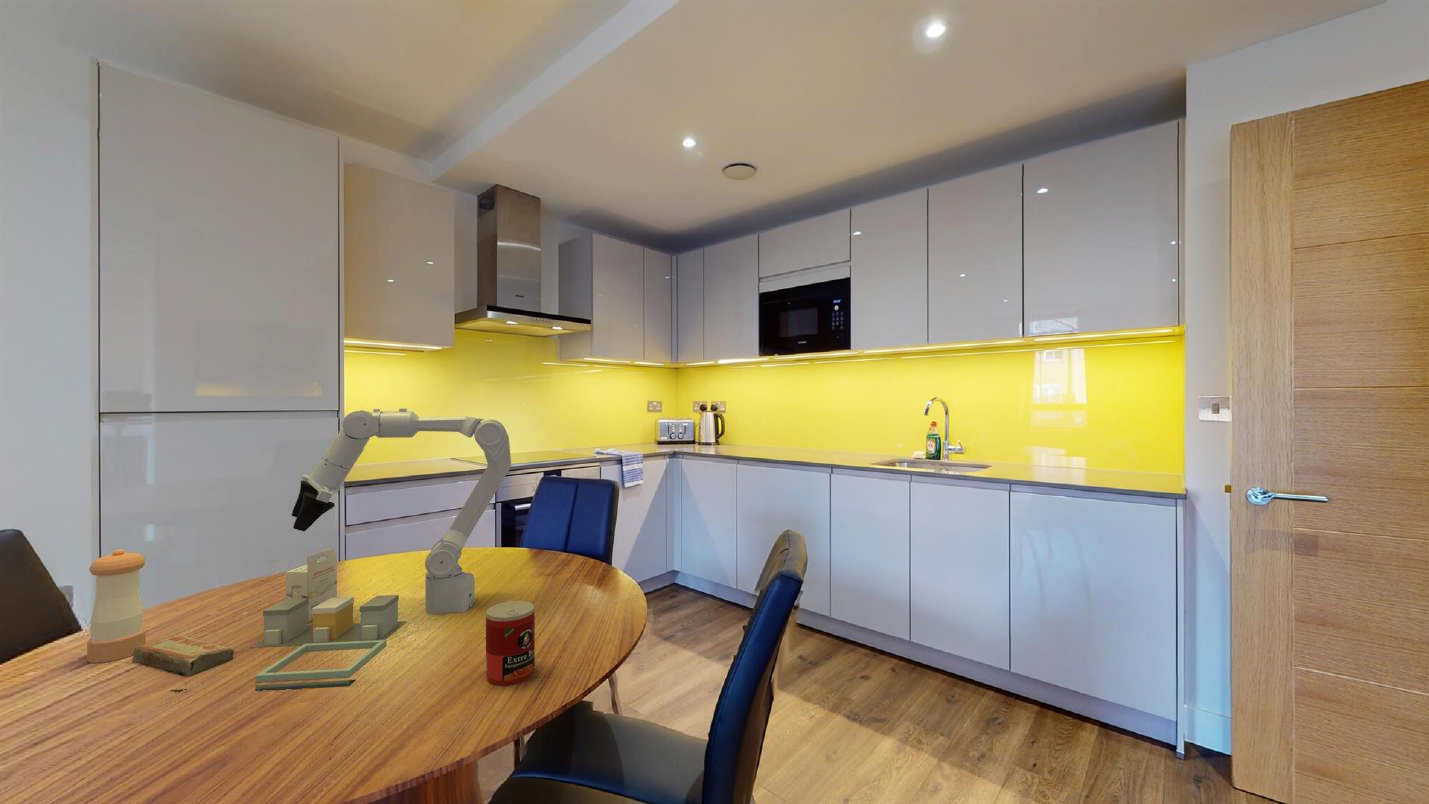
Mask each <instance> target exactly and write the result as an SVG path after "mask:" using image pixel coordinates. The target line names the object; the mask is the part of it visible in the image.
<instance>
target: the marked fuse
mask: <svg viewBox="0 0 1429 804" xmlns="http://www.w3.org/2000/svg"><path fill="white" fill-rule="evenodd" d="M354 602H355V596H337V597H333V598H330V599H328V600H326V601H325V602H323V603H321V604H319V605H317V606H316V607H314V608H312V614H313V619H312V625H313V635H314V629H315V628H318V627H330V640H335V639H337V638H338V637H340V636H341V635H342V634H344V633H345V632H347V631H348V630H350V629H351V628H352V627H353V623H354Z"/></svg>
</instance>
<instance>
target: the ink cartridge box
mask: <svg viewBox="0 0 1429 804" xmlns="http://www.w3.org/2000/svg"><path fill="white" fill-rule="evenodd" d="M321 557H326V558H324V559H322V560H318V559H321ZM337 572H338V562H337V553H336V547H332V548H330V549H326V550H323V551H320V552H316V553H314V554H311V555H309V556H307V557H306V564H305V565H302V566H299V567H297V568H294V569H291V570H287V571H286V572H285V588H286V589H285V595H286V596H285V597H286V598H285V600H286V599H308V598H309V604H308V622H309V621H313V614H312V608H314V607H316V606H317V605H319V604H321V603H323V602H325V601H326V600H328V599H330V598H333V597H338V578H337V577H338V573H337Z"/></svg>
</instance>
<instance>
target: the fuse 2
mask: <svg viewBox="0 0 1429 804" xmlns="http://www.w3.org/2000/svg"><path fill="white" fill-rule="evenodd" d="M399 597H400V596H399V594H388V595H387V594H386V595H385V594H384V595H375V596H374V597H372V598H371V599H369V600H368V601H366V602H365V603H363V604H362V605H360V606H359V613H360V623H361V638H362V627H363V626H364V625H378V637H384V636H385V635H386V634H387V633H389V632H390V631H391V630H392V629H394V628H395V627H396V626H397V625H398V621H399V599H400V598H399Z"/></svg>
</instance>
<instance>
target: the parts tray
mask: <svg viewBox="0 0 1429 804" xmlns="http://www.w3.org/2000/svg"><path fill="white" fill-rule="evenodd" d="M385 647H387V639H386V640H374V641H354V642H333V643H313V644H304V645H302V646H298V647H297V648H296V649H294V650H293V651H291V652H289V653H288V654H287V655H285V656H284V657H282V658H281V659H279V660H277V661H276V662H274V663H273V664H271V665H270V666H269V667H267V668H265V669H263V670H262V671H261V672H259V673H258V674H256V675H255V679H254V680H255V681H254V682H255V683H266V682H267V683H270V682H282V681H283V682H284V681H285V682H286V681H289V682H290V681H305V680H306V681H307V680H308V681H309V680H322V679H323V680H324V679H339V678H343V679H344V678H350V677H351V676H352V675H353V674H355V673H356V672H357V671H358V670H360V668H362V667H363V666H364V665H366V663H368V662H369V661H370V660H371V659H372V658H373V657H375V656H376V655H377V654H378V653H379V652H381V651H382V650H383V649H384V648H385ZM359 649H360V650H361V649H362V650H363V649H368V650H367V652H365V653H364V654H363V655H361V656H360V657H359V658H358V659H357V660H355V661H354V662H353V663H351V665H349V666H348V667H347V668H336V669H335V668H334V669H333V668H331V669H316V670H296V671H280V670H281V669H283V668H284V667H286V666H287V665H289V664H290V663H291V662H293V661H294V660H296V659H298V658H299V657H300V656H302V655H303V654H305V653H306V652H322V651H339V650H340V651H342V650H359ZM278 671H279V672H278ZM355 681H357V679H348V680H347V679H344V680H341V679H340V680H327V681H325V680H324V681H309V682H292V683H291V682H290V683H276V684H275V683H272V684H255V691H258V692H264V691H263V690H275V691H287V690H286V689H293V690H303V689H302V688H310V689H321V688H322V689H324V688H325V689H326V688H341V687H342V688H345V687H350V686H351V685H353V684H354V683H355ZM255 691H254V692H255Z"/></svg>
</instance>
